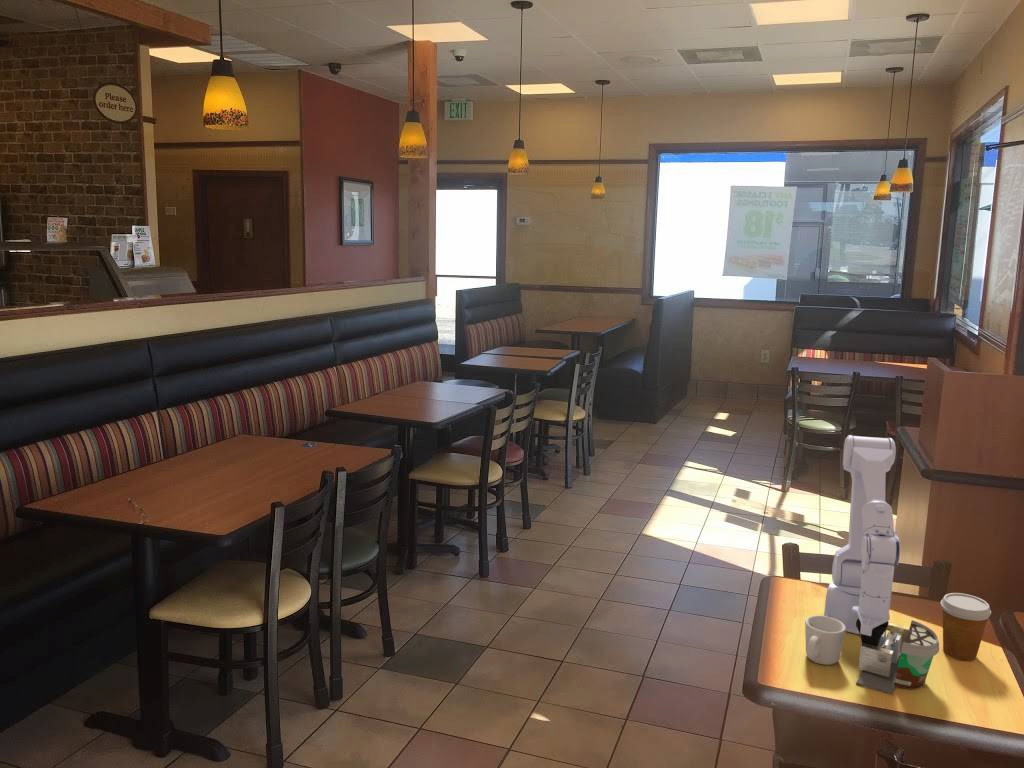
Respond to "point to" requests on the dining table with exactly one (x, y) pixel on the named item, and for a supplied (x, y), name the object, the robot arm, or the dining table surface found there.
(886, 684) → the mat
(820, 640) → the cup
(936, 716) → the dining table surface
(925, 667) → the food container
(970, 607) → the disposable coffee cup
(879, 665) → the shaft
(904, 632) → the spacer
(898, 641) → the bearing block
